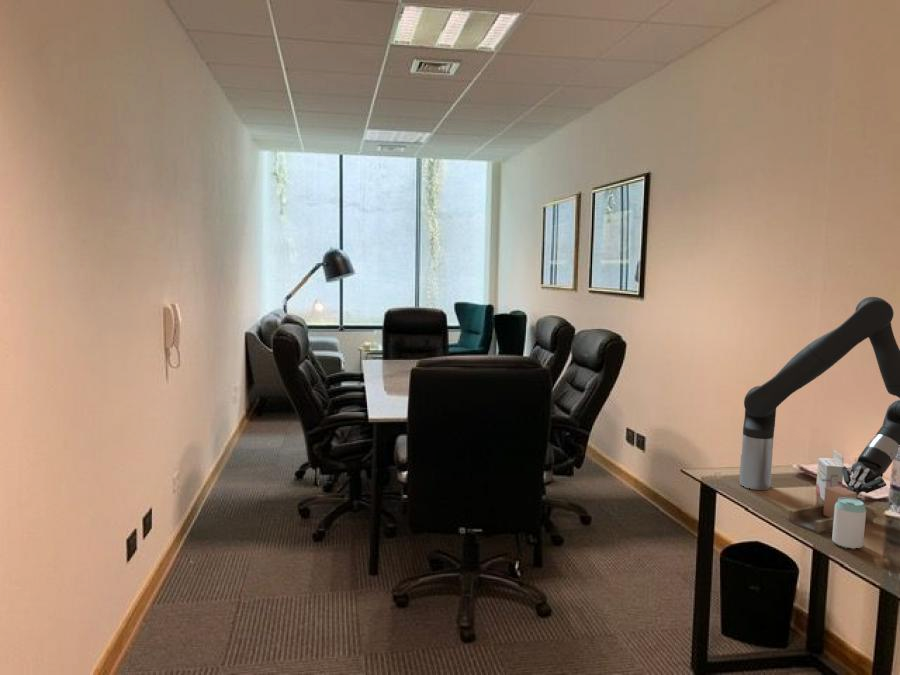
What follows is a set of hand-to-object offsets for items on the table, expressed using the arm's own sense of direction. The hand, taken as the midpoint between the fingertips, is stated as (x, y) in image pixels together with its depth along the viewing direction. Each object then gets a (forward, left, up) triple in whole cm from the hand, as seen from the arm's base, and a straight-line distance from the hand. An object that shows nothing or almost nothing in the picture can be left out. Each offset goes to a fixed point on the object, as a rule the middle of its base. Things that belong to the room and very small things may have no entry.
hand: (847, 499), depth 190 cm
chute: (+2, -6, -6) cm, 9 cm away
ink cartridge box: (-17, +5, -6) cm, 19 cm away
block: (+1, -3, -6) cm, 7 cm away
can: (+17, -11, -6) cm, 21 cm away
